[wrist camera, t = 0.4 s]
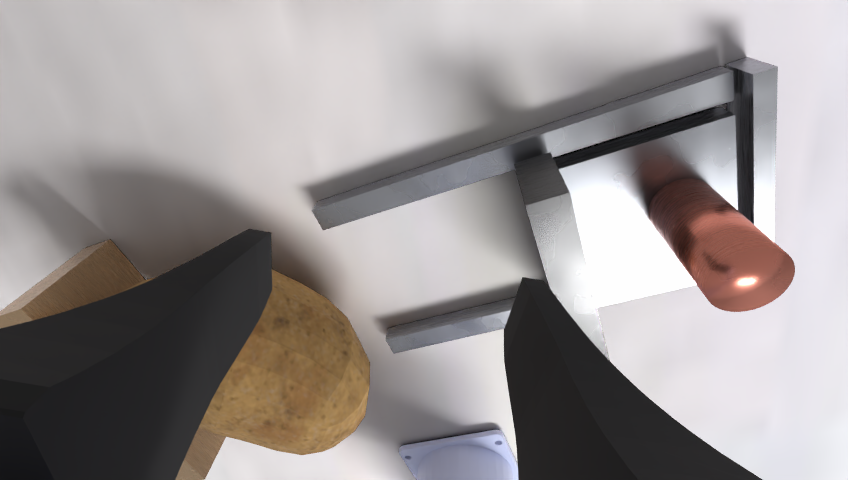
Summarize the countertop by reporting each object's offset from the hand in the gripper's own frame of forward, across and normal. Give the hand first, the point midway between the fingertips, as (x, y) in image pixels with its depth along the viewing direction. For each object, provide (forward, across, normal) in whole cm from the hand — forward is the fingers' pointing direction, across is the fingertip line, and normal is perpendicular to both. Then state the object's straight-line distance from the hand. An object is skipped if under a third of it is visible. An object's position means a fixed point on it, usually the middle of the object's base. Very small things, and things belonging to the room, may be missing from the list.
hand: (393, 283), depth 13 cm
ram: (+10, -10, +1) cm, 14 cm away
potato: (+10, +7, +11) cm, 17 cm away
